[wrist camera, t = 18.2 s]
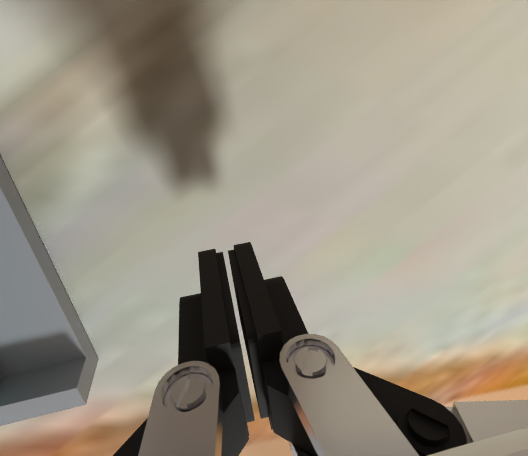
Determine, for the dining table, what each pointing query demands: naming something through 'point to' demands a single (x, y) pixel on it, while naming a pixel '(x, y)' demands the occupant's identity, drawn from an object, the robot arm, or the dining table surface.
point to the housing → (36, 323)
